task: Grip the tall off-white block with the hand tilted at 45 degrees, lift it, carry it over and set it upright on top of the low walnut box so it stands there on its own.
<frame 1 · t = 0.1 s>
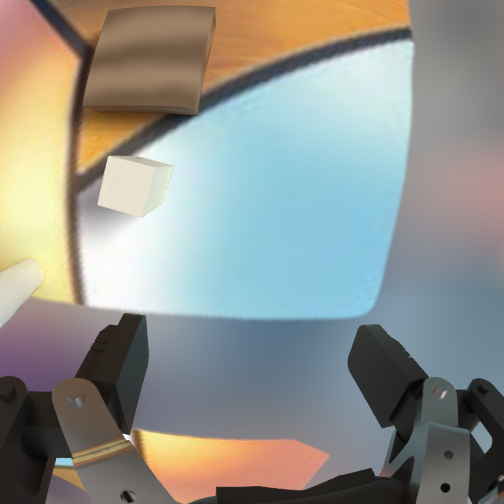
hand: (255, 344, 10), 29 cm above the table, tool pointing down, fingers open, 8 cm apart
drinking glass: (34, 271, 37), on the table
offwhite block: (151, 179, 35), on the table
walnut box: (156, 65, 31), on the table
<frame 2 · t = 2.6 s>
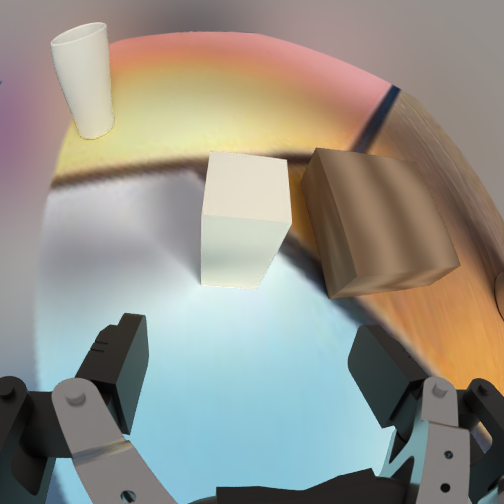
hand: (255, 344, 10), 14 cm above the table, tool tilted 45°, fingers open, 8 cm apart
drinking glass: (97, 129, 32), on the table
offwhite block: (230, 261, 26), on the table
walnut box: (367, 235, 31), on the table
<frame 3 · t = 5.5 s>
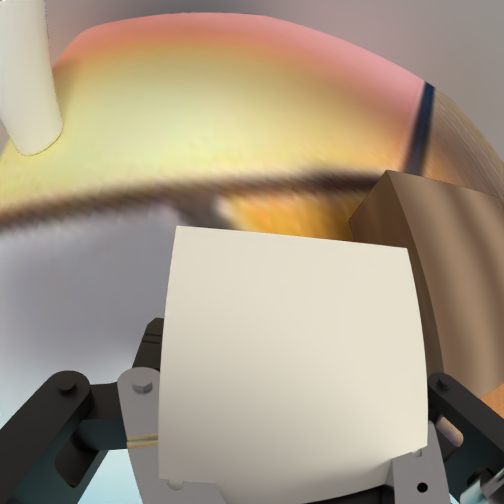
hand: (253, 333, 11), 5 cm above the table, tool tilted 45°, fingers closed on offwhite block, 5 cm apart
drinking glass: (41, 140, 20), on the table
offwhite block: (238, 382, 14), on the table, touching gripper
walnut box: (437, 304, 19), on the table
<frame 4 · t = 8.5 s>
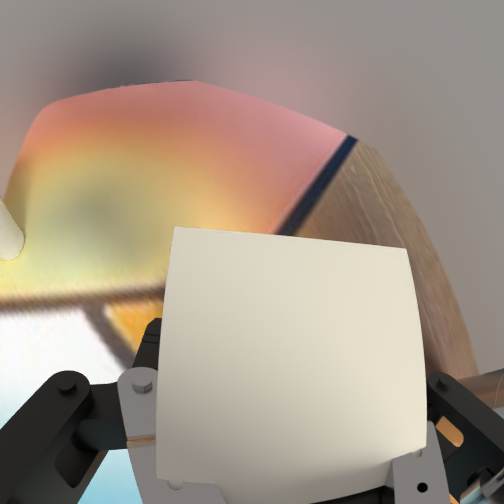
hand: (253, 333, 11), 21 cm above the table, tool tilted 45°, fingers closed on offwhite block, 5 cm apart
drinking glass: (13, 246, 30), on the table
offwhite block: (237, 382, 14), point 17 cm above the table, touching gripper
when the fingers open (12 cm above the table, at t = 11.2 s): offwhite block drops 2 cm, resting on walnut box.
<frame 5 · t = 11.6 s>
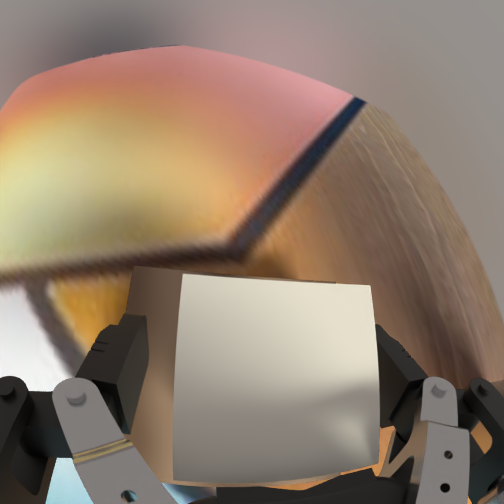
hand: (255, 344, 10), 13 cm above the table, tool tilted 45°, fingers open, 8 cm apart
offwhite block: (236, 385, 16), point 6 cm above the table, touching walnut box
walnut box: (226, 383, 21), on the table, touching offwhite block
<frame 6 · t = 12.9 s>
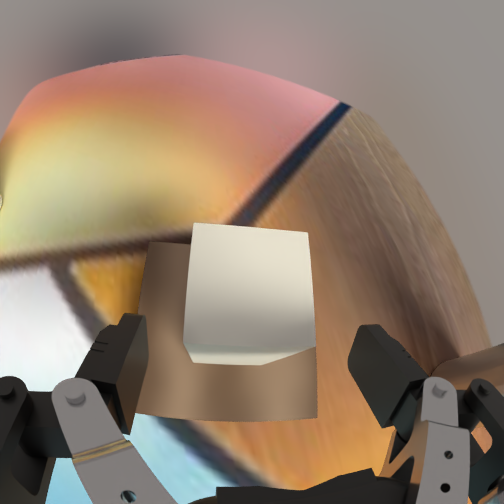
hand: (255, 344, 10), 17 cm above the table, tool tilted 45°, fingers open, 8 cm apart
offwhite block: (228, 331, 21), point 6 cm above the table, touching walnut box
walnut box: (222, 342, 26), on the table, touching offwhite block
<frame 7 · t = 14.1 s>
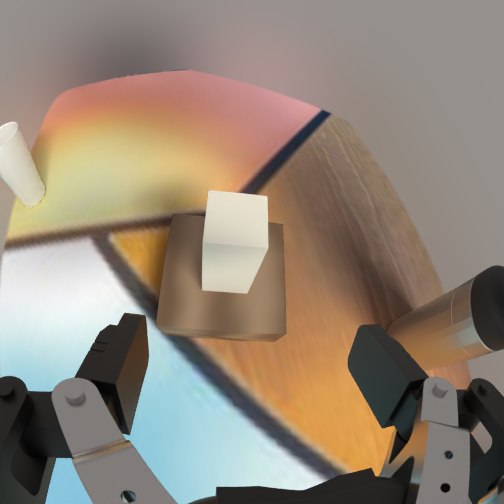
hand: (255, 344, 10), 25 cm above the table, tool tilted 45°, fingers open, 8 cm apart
drinking glass: (34, 197, 39), on the table
offwhite block: (225, 271, 33), point 6 cm above the table, touching walnut box
walnut box: (221, 287, 38), on the table, touching offwhite block
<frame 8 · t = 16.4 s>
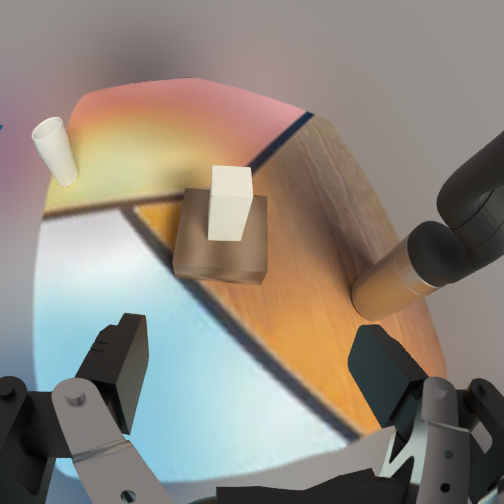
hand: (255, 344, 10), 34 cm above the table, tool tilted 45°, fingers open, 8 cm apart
drinking glass: (68, 179, 51), on the table
offwhite block: (224, 226, 45), point 6 cm above the table, touching walnut box
walnut box: (220, 244, 50), on the table, touching offwhite block
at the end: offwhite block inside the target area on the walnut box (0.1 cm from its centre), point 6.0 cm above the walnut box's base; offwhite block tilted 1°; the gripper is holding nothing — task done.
